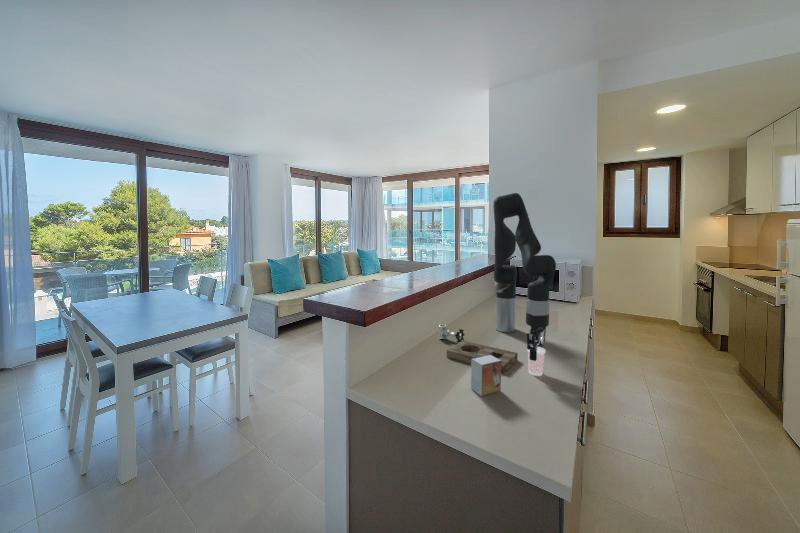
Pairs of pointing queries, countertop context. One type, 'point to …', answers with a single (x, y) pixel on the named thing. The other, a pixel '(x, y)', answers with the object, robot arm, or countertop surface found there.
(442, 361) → the countertop surface
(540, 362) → the beverage cup
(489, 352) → the socket plate
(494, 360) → the small box
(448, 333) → the valve
